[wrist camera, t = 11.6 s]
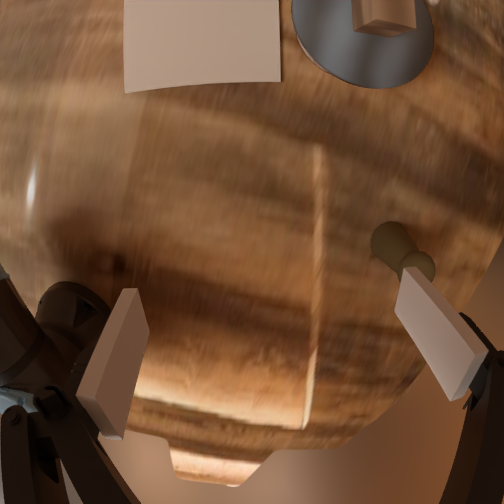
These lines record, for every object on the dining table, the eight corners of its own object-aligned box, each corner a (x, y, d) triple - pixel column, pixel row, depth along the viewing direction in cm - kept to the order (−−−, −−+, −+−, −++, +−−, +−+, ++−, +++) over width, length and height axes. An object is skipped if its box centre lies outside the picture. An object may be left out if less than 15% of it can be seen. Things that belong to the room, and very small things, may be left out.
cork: (381, 216, 42) (417, 250, 33) (411, 228, 43) (450, 263, 34) (363, 252, 45) (393, 293, 35) (394, 262, 46) (427, 302, 36)
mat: (126, 93, 34) (124, 93, 33) (128, -33, 25) (126, -34, 25) (280, 82, 34) (280, 81, 34) (275, -47, 26) (276, -49, 25)
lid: (292, 81, 28) (307, 76, 22) (288, -49, 21) (300, -79, 14) (429, 98, 28) (467, 102, 22) (422, -21, 21) (455, -37, 15)
